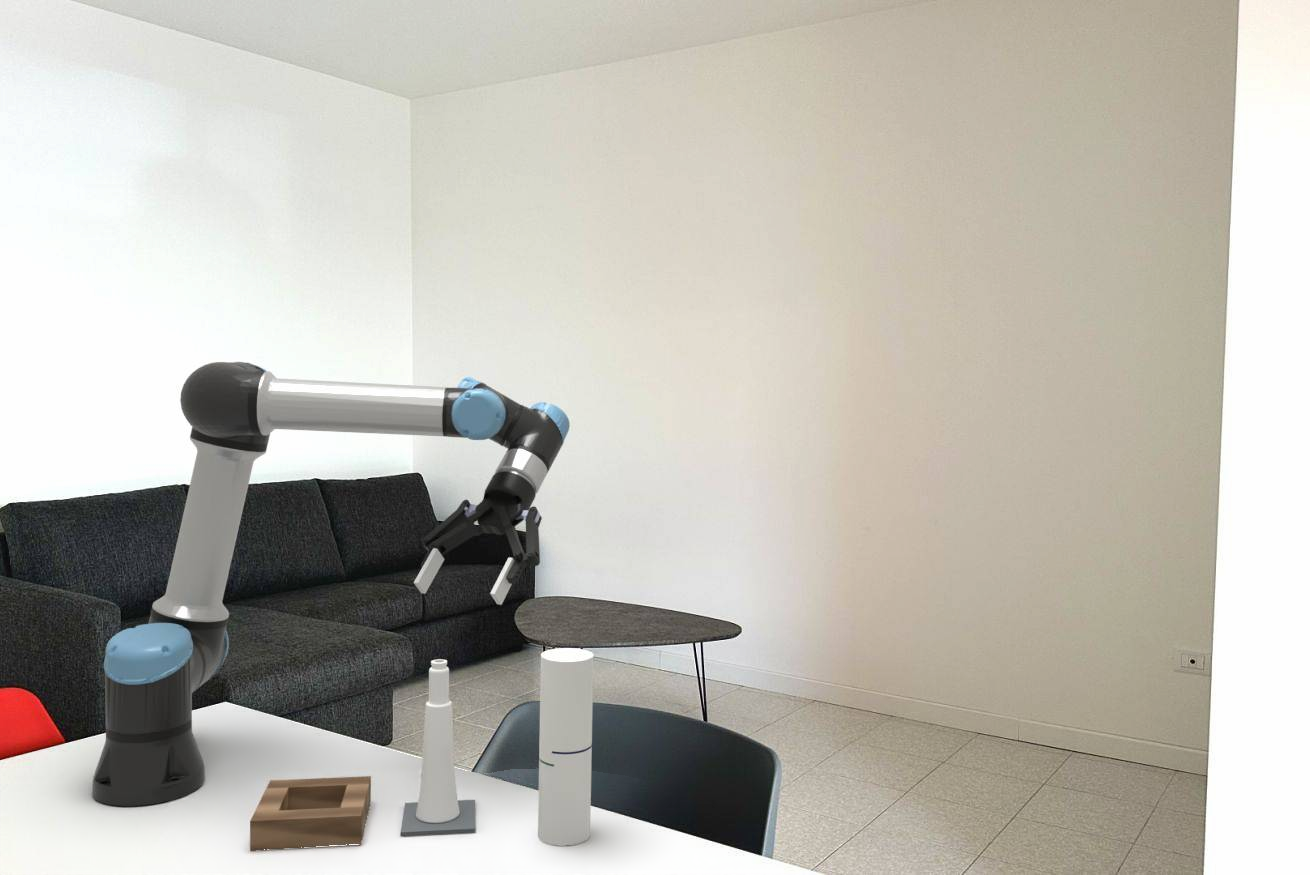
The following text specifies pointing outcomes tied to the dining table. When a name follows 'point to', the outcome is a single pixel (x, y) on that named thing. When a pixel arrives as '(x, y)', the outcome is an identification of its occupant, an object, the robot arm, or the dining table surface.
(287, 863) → the dining table surface
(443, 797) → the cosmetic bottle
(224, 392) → the robot arm
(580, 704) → the cylindrical container
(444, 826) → the mat
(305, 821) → the collar
